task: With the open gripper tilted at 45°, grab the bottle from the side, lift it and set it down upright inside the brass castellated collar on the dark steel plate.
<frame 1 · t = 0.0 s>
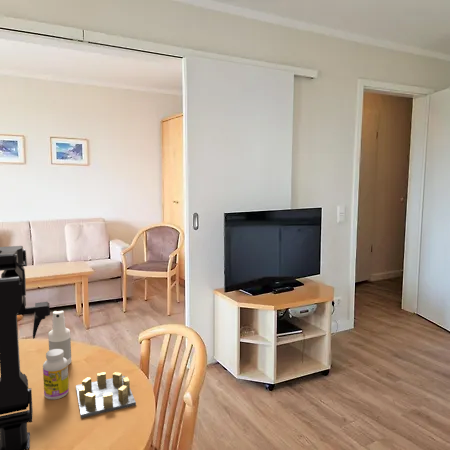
hand: (16, 340, 120), 15 cm above the table, tool pointing down, fingers open, 9 cm apart
collar: (104, 396, 117), on the table
supplement bottle: (56, 394, 118), on the table
spray bottle: (60, 363, 137), on the table
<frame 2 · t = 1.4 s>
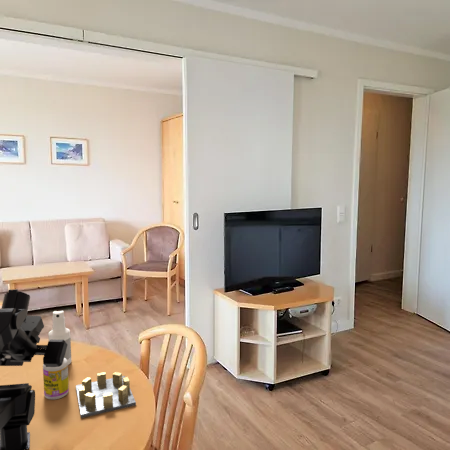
hand: (39, 364, 108), 13 cm above the table, tool tilted 45°, fingers open, 9 cm apart
nothing on the table moved.
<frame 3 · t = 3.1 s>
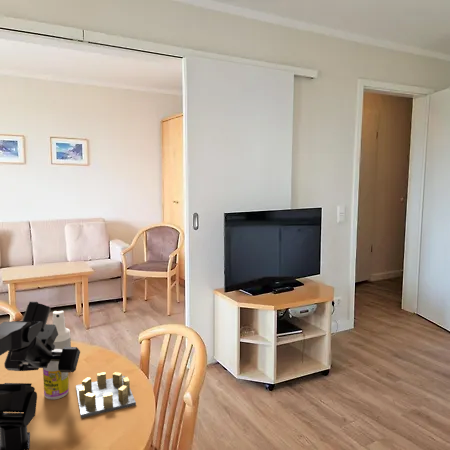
hand: (54, 368, 116), 8 cm above the table, tool tilted 45°, fingers open, 9 cm apart
nothing on the table moved.
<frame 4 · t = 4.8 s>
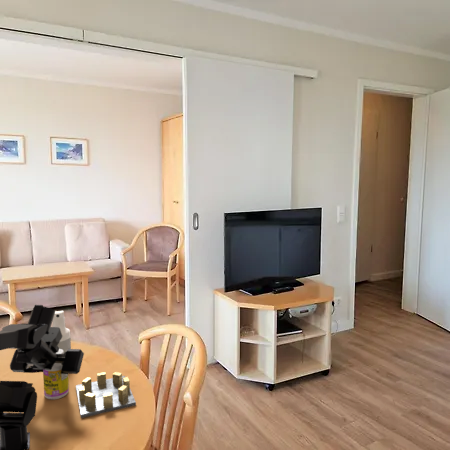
hand: (58, 370, 119), 7 cm above the table, tool tilted 45°, fingers closed on supplement bottle, 7 cm apart
supplement bottle: (56, 394, 118), on the table, touching gripper
everything else where it was.
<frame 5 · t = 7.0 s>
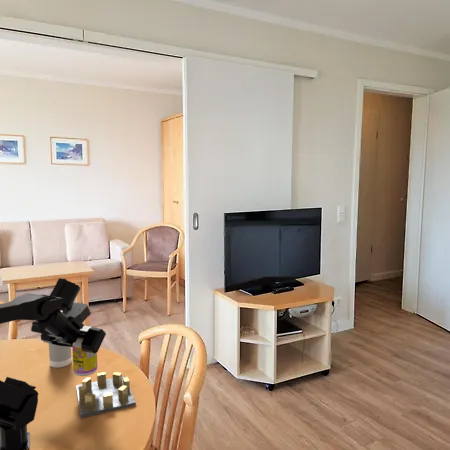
hand: (88, 347, 118), 13 cm above the table, tool tilted 45°, fingers closed on supplement bottle, 7 cm apart
supplement bottle: (85, 372, 118), point 7 cm above the table, touching gripper
everything else where it was.
when the fingers open (9 cm above the table, at t = 9.4 s): supplement bottle drops 2 cm, resting on collar.
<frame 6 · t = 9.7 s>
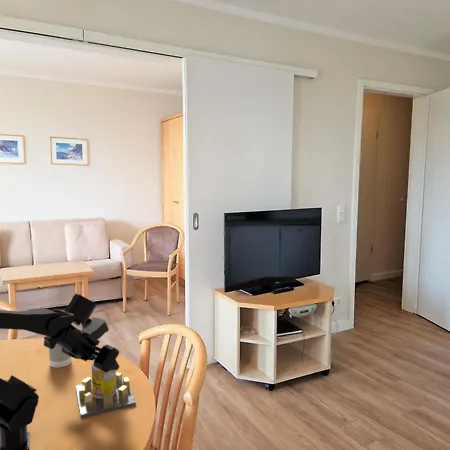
hand: (107, 363, 117), 10 cm above the table, tool tilted 45°, fingers open, 9 cm apart
supplement bottle: (104, 394, 117), point 1 cm above the table, touching collar
everything else where it was.
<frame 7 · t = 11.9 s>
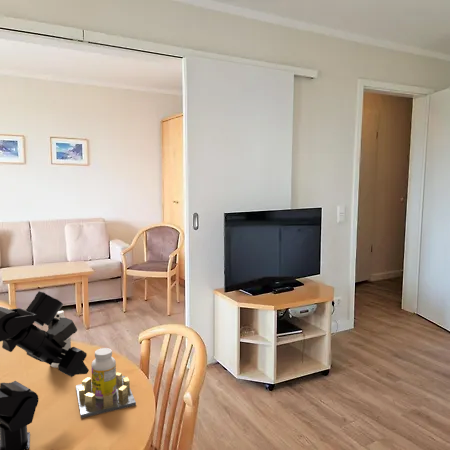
hand: (76, 366, 109), 13 cm above the table, tool tilted 45°, fingers open, 9 cm apart
nothing on the table moved.
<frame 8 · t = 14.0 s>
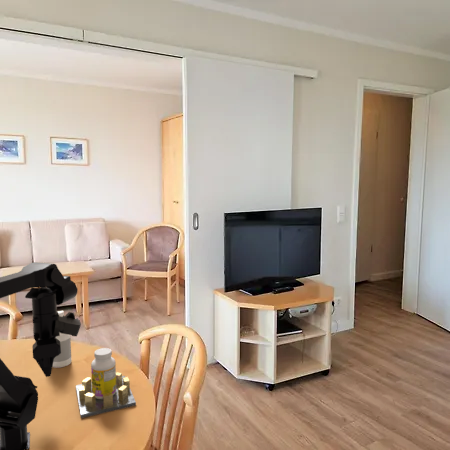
hand: (47, 368, 107), 13 cm above the table, tool pointing down, fingers open, 9 cm apart
nothing on the table moved.
at the end: supplement bottle 0.2 cm off-centre on the collar, point 0.8 cm above the collar's base; supplement bottle tilted 0°; the gripper is holding nothing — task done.
